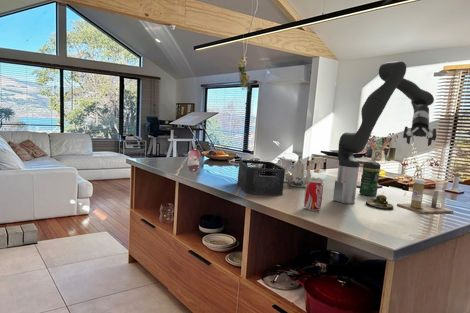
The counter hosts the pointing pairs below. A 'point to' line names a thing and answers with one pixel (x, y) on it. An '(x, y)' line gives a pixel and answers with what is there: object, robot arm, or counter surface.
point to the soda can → (313, 195)
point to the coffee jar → (370, 178)
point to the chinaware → (300, 175)
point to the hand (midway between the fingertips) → (418, 143)
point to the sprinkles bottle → (417, 193)
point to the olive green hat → (380, 202)
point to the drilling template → (427, 206)
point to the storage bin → (261, 178)
